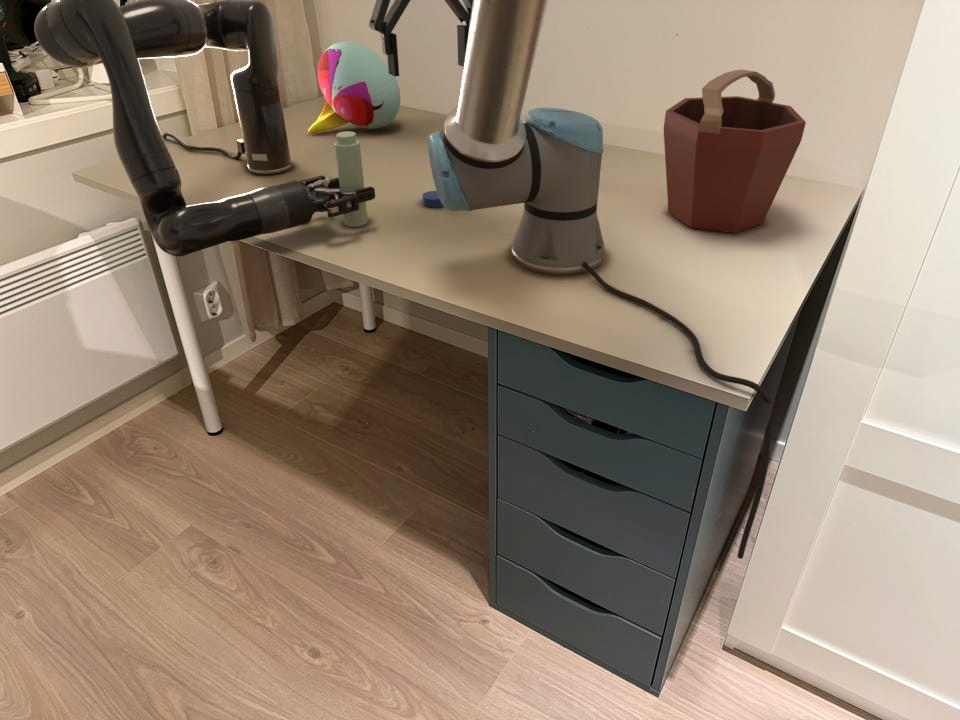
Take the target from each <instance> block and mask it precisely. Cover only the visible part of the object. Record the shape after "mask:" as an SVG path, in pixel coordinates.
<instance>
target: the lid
mask: <svg viewBox="0 0 960 720" xmlns="http://www.w3.org/2000/svg"><path fill="white" fill-rule="evenodd" d="M421 195H422V196H421V198H422V205H423V206H424V207H427V208H442V207H444V206H443V205H442V203H441V201H440V199H439V196H438V193H437V190H429V191H426V192H424V193H422V194H421Z"/></svg>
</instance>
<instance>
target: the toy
mask: <svg viewBox="0 0 960 720" xmlns="http://www.w3.org/2000/svg"><path fill="white" fill-rule="evenodd" d="M317 81H318V85H319V88H320V91H321V93H322V95H323V97H324V99H325V102H324V108H323V109H322V111H321V113H320V114H319V116H318V118H317V119H316V120H315V121H314V123H312V124H311V126H310V127H309V128H308V129H307V132H308V134H318V133H322V132H325V131H329V130H333V129H336V128H339V127H342V126H345V125H347V124H351V125H353V126H356V127H358V128H361V129H366V130H378V129H382V128H384V127H386V126H388V125H390V124H391V123H392V122H393V121H394V120H395V118H396V117H397V115H398V113H399V111H400V107H401V91H400V86H399V84H398V80H397V78H396V76H393V75H391V74H389V70H388V63H387V62H386V61H385V60H384V59H383V58H382V57H381V56H380V55H379V54H378V53H376V52H375V51H374V50H372V49H370V48H369V47H367V46H365V45H362V44H360V43H357V42H353V41H352V42H351V41H341V42H337V43H336V42H335V43H334V44H332V45H330V46H329V47H327V48H326V49H325V50H324V51H323V52H322V54H321V56H320V58H319V61H318V64H317Z"/></svg>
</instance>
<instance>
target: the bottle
mask: <svg viewBox="0 0 960 720" xmlns="http://www.w3.org/2000/svg"><path fill="white" fill-rule="evenodd" d="M335 139H336V141H334V150H335V158H336V166H337V176H338V177H339V184H340V189H342V191H354V190H358V189H362V188H365V182H364V181H365V179H364V171H363V162H362V151H361V142H360V140H359V139H357V133H356V132H355V131H349V130H348V131H340V132H338V133H336V136H335ZM343 197H347V196H343ZM349 202H350V201H349ZM347 208H348V207H347ZM368 222H369V220H368V210H367V201H365V202H362V203H359V210H357V211H353V212H350V213H346V214H343V223H344V225H345V226H346V227H351V228H358V227H363V226H366V225H367V224H368Z"/></svg>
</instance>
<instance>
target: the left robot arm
mask: <svg viewBox="0 0 960 720" xmlns="http://www.w3.org/2000/svg"><path fill="white" fill-rule="evenodd" d="M33 29H34V35H35V38H36V40H37V43H38V45H39V46H40V47H41V49H42V50H43V51H44V52H45V53H46V54H47V55H48V56H49V57H50V58H52V59H53V60H55V61H56V62H58V63H59V64H62V65H63V66H67V67H69V68H75V69H87V68H91V67H94V66H98V65H103V67H104V70H105V73H106V76H107V79H108V82H109V88H110V93H111V105H112V134H113V141H114V146H115V150H116V153H117V156H118V158H119V160H120V163H121V164H122V168H123V169H124V171H125V173H126V175H127V177H128V179H129V182H130V185H131V186H132V188H133V190H134V192H135V193H136V195H137V197H138V199H139V202H140V206H141V209H142V212H143V215H144V217H145V221H146V223H147V227H148V229H149V232H150V234H151V236H152V238H153V240H154V242H155V243H156V245H157V247H158V248H159V249H160V250H161V251H163V252H164V253H166V254H168V255H170V256H172V257H185V256H187V255H190V254H193V253H197V252H199V251H202V250H206V249H209V248H212V247H214V246H218V245H221V244H224V243H227V242H236V241H237V242H238V241H241V240H246V239H250V238H253V237H258V236H261V235H267V234H273V233H278V232H281V231H285V230H289V229H292V228H297V227H301V226H303V225H307V224H309V223H311V221H312V219H313V217H314V216H313V215H314V214H315V213H326V214H327V218H330V219H331V218H336V217H340V216H342V215H343V214H346V213H350V212H353V211H357V210H359V203H362V202H365V201H366V202H368V201H373V200H374V199H376V190H375V187H373V186H370V185H369V186H366V187H364V188H362V189H358V190H354V191H342V189H340V184H339V176H338V177H334V178H333V177H326V176H325V175H317V176H314V177H309V178H303V179H300V180H296V179H293V180H289V181H285V182H281V183H276V184H273V185H268V186H264V187H260V188H257V189H254V190H251V191H249V192H246V193H242V194H237V195H234V196H229V197H225V198H222V199H220V200H217V201H213V202H212V201H210V202H203V203H197V204H191V205H188V204H187V202H186V199H185V197H184V195H183V192H182V179H181V176H180V173H179V171H178V168H177V166H176V164H175V162H174V160H173V157H172V155H171V153H170V151H169V149H168V148H169V147H167V146H168V145H166V144H167V143H166V142H165V139H167V137H169V138H172V139H173V140H175V141H176V142H179V143H180V144H181V145H182V146H183V147H185V149H188V150H192V151H199V152H218V153H221V154H224V155H225V156H226V157H229V158H230V159H233V160H239V159H240V158H242V155H245V158H246V162H247V170H248V171H249V172H250V173H252V174H255V175H275V174H279V173H283V172H286V171H289V170H290V169H291V168H293V162H292V158H291V153H290V146H289V139H288V134H287V127H286V121H285V115H284V108H283V102H282V96H281V91H280V85H279V77H278V76H279V61H278V54H277V53H278V52H277V45H276V33H275V27H274V21H273V17H272V14H271V12H270V10H269V8H268V6H267V5H266V4H265V3H264V2H262V1H261V0H217V1H213V2H207V3H201V4H199V3H198V4H196V3H194V2H193V1H191V0H138V1H134V2H131V3H127V4H124V5H121V6H119V5H118V4H117V1H115V0H52V1H50V2H48V3H46V5H44V6H43V7H42V8H41V9H40V11H39V12H38V14H37V15H36V17H35V20H34V27H33ZM204 48H214V49H222V50H227V51H234V52H248V64H247V65H246V66H243V67H242V68H239V69H237V70H234V71H233V72H232V73H231V74H230V81H231V86H232V90H233V95H234V101H235V105H236V110H237V117H238V121H239V126H240V131H241V137H242V138H239V139H236V140H235V142H236V146H237V153H236V154H235V155H233V154H232V153H231V152H229V151H228V150H226V149H224V148H222V147H217V146H198V145H192V144H189V143H187V142H186V141H185V140H184V139H182V138H180V137H178V136H177V135H175V134H174V133H171V132H166V131H165V132H164V133H162V132H161V130H160V127H159V124H158V122H157V119H156V116H155V114H154V113H155V112H154V110H153V107H152V105H151V100H150V96H149V92H148V89H147V84H146V81H145V77H144V74H143V71H142V67H141V64H140V61H139V59H140V60H142V59H157V58H158V59H160V58H178V57H189V56H193V55H194V56H195V55H197V54H199V53H200V52H202V51H203V50H204ZM343 196H347V197H343ZM336 197H337V198H336ZM349 201H350V202H349ZM347 207H348V208H347Z"/></svg>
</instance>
